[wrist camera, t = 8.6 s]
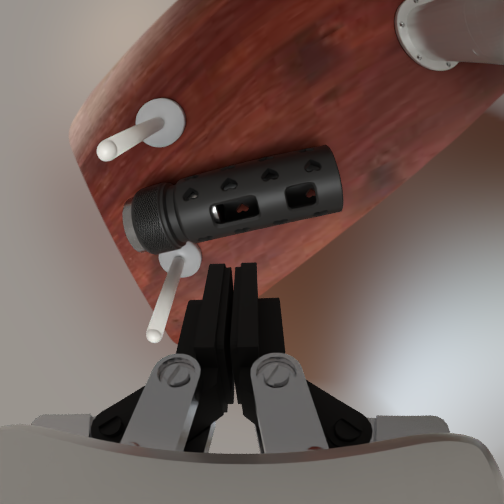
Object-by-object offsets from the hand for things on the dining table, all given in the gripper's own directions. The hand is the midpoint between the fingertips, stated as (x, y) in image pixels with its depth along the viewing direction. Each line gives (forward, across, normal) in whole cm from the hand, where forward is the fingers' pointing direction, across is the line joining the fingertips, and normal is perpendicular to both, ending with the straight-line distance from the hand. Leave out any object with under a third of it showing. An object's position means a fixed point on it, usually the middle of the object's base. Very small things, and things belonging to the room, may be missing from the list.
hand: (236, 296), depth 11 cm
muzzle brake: (+36, +3, +8) cm, 36 cm away
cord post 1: (+35, +12, -3) cm, 37 cm away
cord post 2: (+35, +12, +19) cm, 42 cm away
